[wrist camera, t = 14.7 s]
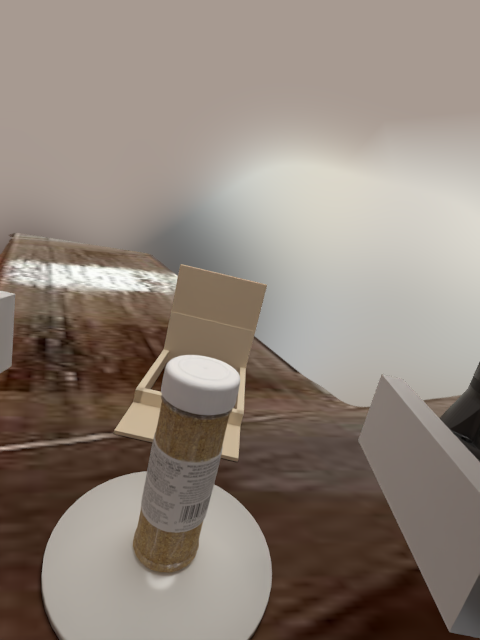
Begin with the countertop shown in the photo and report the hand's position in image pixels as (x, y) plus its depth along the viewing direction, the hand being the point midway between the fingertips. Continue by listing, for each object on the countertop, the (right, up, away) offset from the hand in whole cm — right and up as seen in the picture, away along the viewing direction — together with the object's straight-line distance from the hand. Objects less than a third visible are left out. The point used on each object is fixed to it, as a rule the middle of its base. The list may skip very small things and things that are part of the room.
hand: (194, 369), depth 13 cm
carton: (-4, -8, +34) cm, 35 cm away
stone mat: (-4, -14, +12) cm, 19 cm away
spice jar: (-4, -14, +12) cm, 19 cm away
